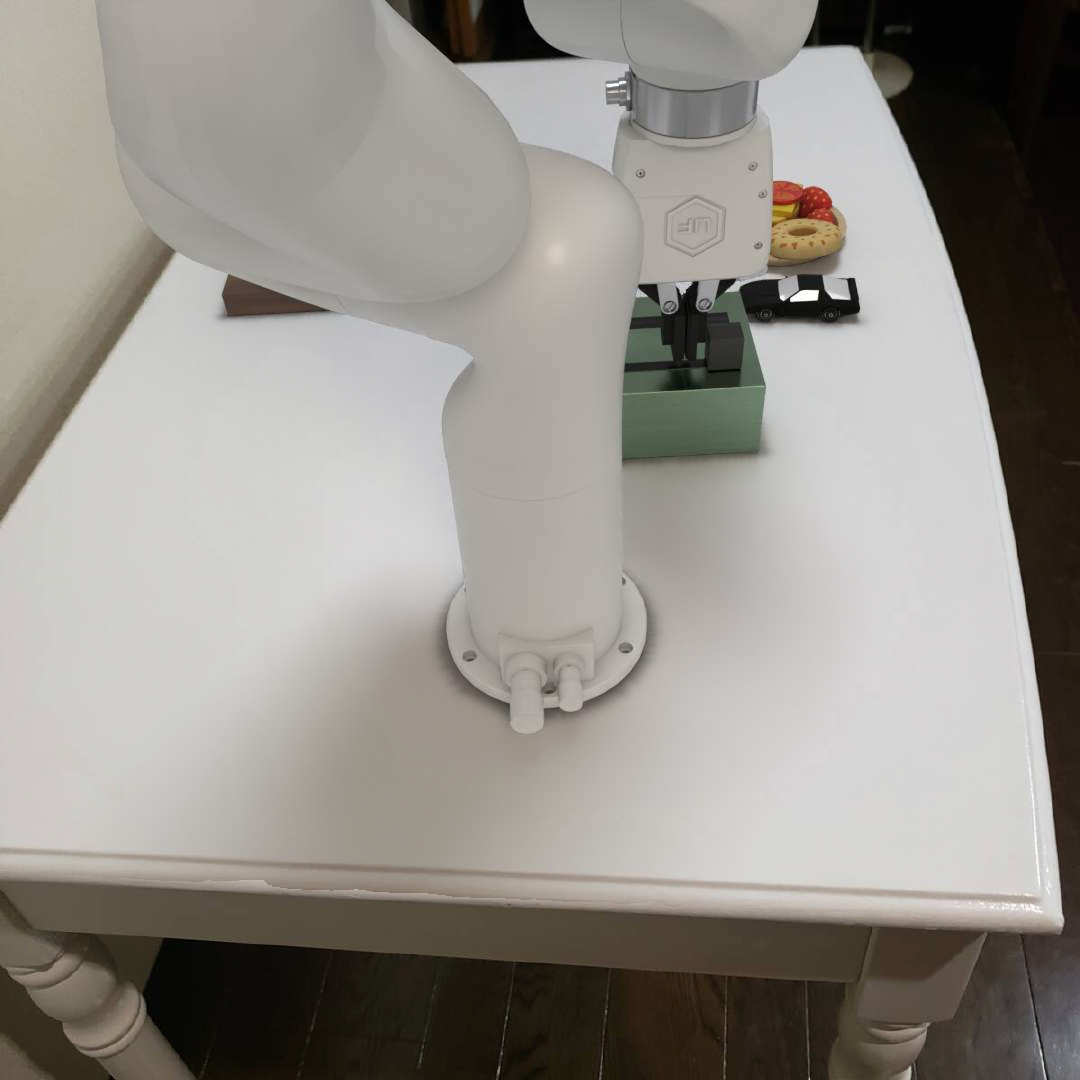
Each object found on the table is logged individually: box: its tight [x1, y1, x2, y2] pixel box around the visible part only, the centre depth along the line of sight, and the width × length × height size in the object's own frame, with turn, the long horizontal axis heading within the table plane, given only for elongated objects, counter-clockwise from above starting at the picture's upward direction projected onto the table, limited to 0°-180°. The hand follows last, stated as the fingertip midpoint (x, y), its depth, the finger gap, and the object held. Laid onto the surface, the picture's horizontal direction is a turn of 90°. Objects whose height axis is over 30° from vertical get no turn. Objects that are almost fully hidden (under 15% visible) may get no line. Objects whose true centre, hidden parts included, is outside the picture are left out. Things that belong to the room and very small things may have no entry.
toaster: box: [622, 290, 767, 460], centre depth 84 cm, size 12×12×6 cm
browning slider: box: [704, 322, 745, 370], centre depth 79 cm, size 2×2×3 cm
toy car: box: [738, 273, 861, 323], centre depth 93 cm, size 10×4×3 cm, turn 85°
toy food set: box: [767, 180, 848, 267], centre depth 102 cm, size 13×13×3 cm
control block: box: [221, 274, 329, 317], centre depth 101 cm, size 12×10×4 cm
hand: (682, 349), depth 79 cm, fingers closed
